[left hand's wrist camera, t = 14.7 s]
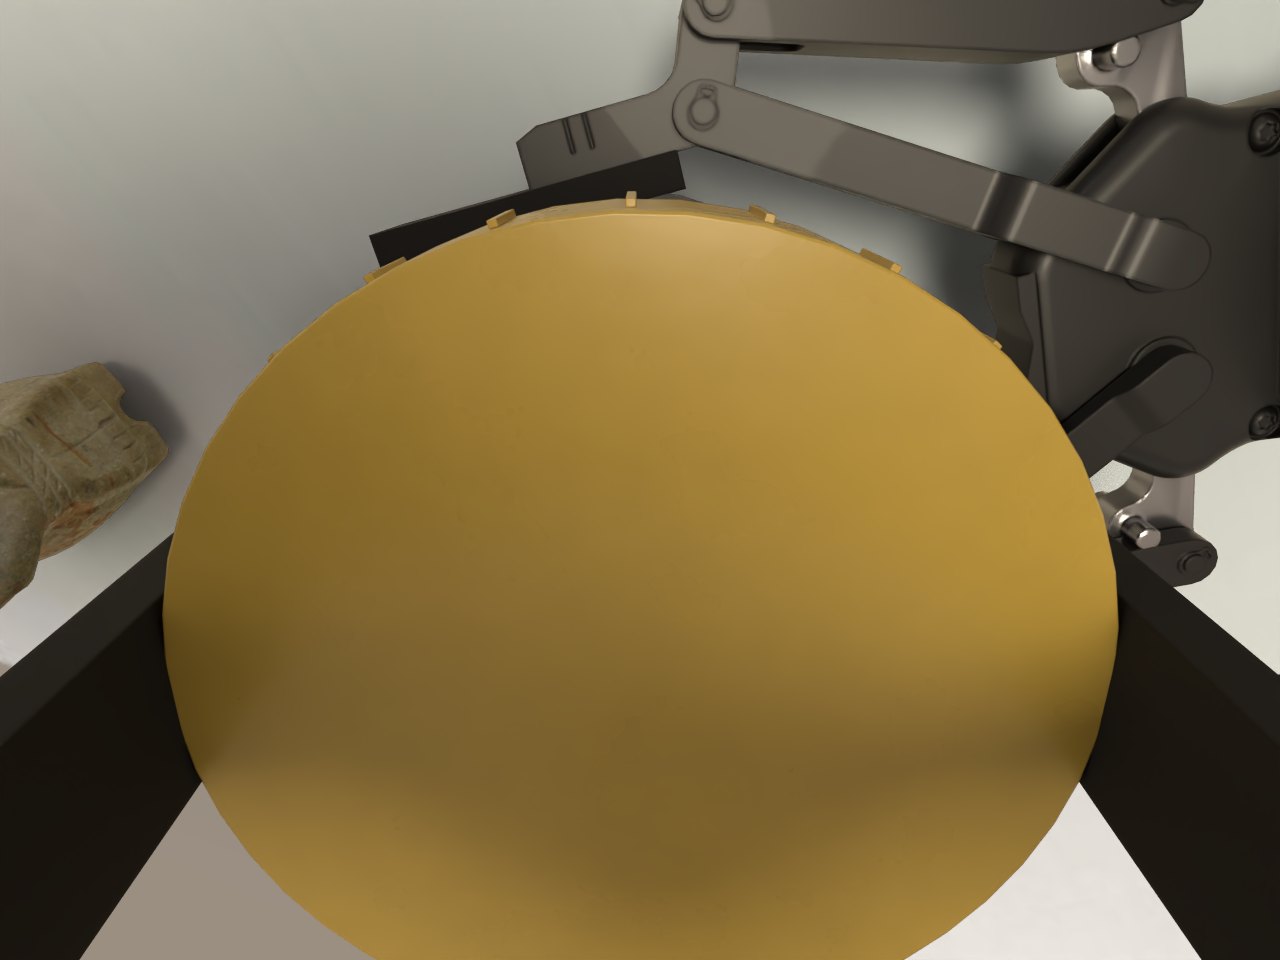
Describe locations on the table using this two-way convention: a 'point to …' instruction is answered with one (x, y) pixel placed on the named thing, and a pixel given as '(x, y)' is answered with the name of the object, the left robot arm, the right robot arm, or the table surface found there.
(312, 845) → the lid
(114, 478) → the sculpture
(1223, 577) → the table surface
